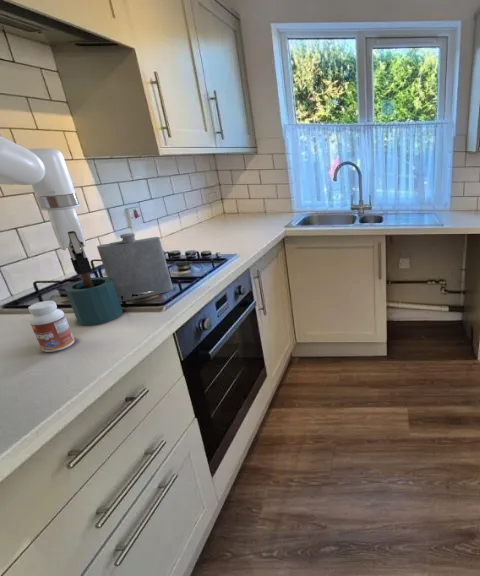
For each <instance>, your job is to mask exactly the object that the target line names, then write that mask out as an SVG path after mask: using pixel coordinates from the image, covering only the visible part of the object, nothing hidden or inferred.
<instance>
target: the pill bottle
mask: <svg viewBox="0 0 480 576" xmlns="http://www.w3.org/2000/svg"><path fill="white" fill-rule="evenodd" d="M27 308H28V311H29V313H30V315H31V316H30V317H29V319H28V321H29V325H30V326H31V329H32V332H33V334H34V336H35V338H36V340H37V342H38V344H39V347H40V349H41V351H43V352H45V353H53V352H58V351H62V350H65V349H68V348H69V347H70V346H72V345H73V344H74V343H75V337H74V335H73V332H72V330H71V327H70V324H69V322H68V320H67V317H66V314H65V312H64V311H63V310H61V309H59V308H58V306H57V303H56V302H55V300H44V301H38V302H36V303H33V304H31V305H30V306H28V307H27Z"/></svg>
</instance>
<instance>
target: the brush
mask: <svg viewBox="0 0 480 576" xmlns="http://www.w3.org/2000/svg"><path fill="white" fill-rule="evenodd" d="M90 273H91V272H90ZM90 273H85V274H80V275H79V276H80V279H81V280H82V282H83V284H84V287H85V289H86V288H91V287H94V285H93V282H92V279H91V278H92V277H91V274H90Z"/></svg>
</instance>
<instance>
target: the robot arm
mask: <svg viewBox="0 0 480 576" xmlns="http://www.w3.org/2000/svg"><path fill="white" fill-rule="evenodd" d="M0 185H7V186H8V185H9V186H12V185H18V186H31V187H32V189H33V192H34V194H35V197H36V200H37V203H38V206H39V208H40V210H41V211H46V212H47V214H48V218H49V221H50V224H51V227H52V229H53V232H54V235H55V238H56V241H57V243H58V246H59V247H60V249H61V250H63V251H66V249H67V250H68V253H69V255H70V258H69V259H70V262H71V265H72V266H73V269H74V271H75V273H76V275H78V276H80V274H85V273H92V272H93V269H92V267H91V266H92V265H91V263H90V260H89V258H88V257H87V255H86V252H85V249H84V248H85V247H86V246H87V244H86V239H85V236H84V231H83V228H82V225H81V223H80V220H79V216H78V214H77V210H76V208H79V207H81V204H80V201H79V199H78V196H77V192H76V190H75V187H74V184H73V180H72V178H71V175H70V171H69V169H68V165H67V162H66V159H65V157H64V154H63V153H62V152H61V151H60V150H58V149H56V148H26V147H24V146H23V145H20V144H17V143H16V142H14V141H12V140H9V139H7V138H5V137H3V136H1V135H0Z"/></svg>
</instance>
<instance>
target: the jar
mask: <svg viewBox="0 0 480 576" xmlns="http://www.w3.org/2000/svg"><path fill="white" fill-rule="evenodd" d="M91 279H92V282H93V285H94V287H91V288H86V289H85V287H84V284H83V282H82V279H81V280H79V281H75V282H72V283H71V284H68V285H67V286H65V288H64V290H65V293H66V296H67V299H68V300H69V303H70V306H71V308H72V311H73V313H74V316H75V318H76V321H77V322H78V324H79V325H81V326H96V325H100V324H104V323H109V322H110V321H113V320H115V319H117V318H119V317H120V316H121V315H122V314H123V312H124V311H123V307H122V304H121V302H120V301H119V298H118V295H117V292H116V289H115V286H114V283H113V280H112V279H111V278H108V277H107V276H98V277H91Z"/></svg>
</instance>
